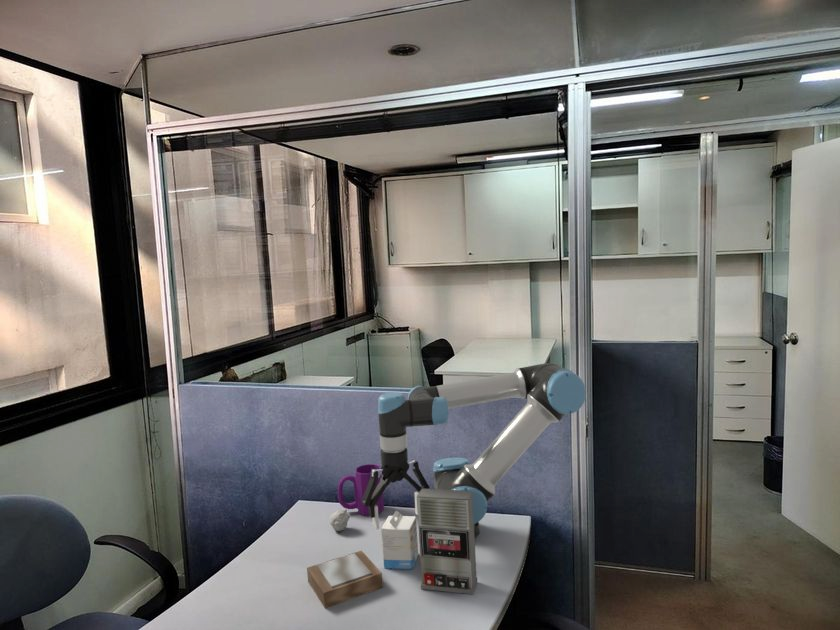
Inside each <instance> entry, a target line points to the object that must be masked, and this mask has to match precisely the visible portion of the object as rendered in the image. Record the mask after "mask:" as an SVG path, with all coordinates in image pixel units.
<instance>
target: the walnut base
mask: <svg viewBox="0 0 840 630" xmlns="http://www.w3.org/2000/svg"><path fill="white" fill-rule="evenodd" d="M306 571H307V572H306V573H307V583H308V584H309V586H310V587H311V589H312V590H313V592H314V594H315V595H316V596H317V598H318V600H319V601H320V603H321V605H322V606H323V608H324V609H326V608H329V607H332V606H335V605H338V604H341V603H343V602H346V601H349V600H351V599H352V600H353V599H354V598H357V597H360V596H363V595H366V594H368V593H371V592H374V591H376V590H380V589H382V588H383V587H384V584H383V573H382V572H381V570H380V569H379V568H378V567H377V566H376V565H375V564H374V563H373V561H372V560H371V559H370V558H369V557H368V556H367V555H366V554H365V552H364V551H363V550H359V551H355V552H352V553H350V554H349V553H348V554H347V555H342V556H340V557H336V558H333V559H330V560H326V561H324V562H321V563H318V564H314V565H311V566H308V567H306ZM383 589H384V588H383Z"/></svg>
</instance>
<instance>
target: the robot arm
mask: <svg viewBox="0 0 840 630" xmlns="http://www.w3.org/2000/svg"><path fill="white" fill-rule="evenodd" d="M407 395H408V396H407V399H406V398H405V394H403V393H402V392H386V393H383V394H381V395H380V396H379V397H378V400H377V401H378V403H377V404H378V407H377V414H378V426H379V427H378V429H379V445H380V446H379V447H380V449H381V450H380V463H381V466H380V467H381V469H378V470H375V469H372V470H371V477H370V480H369V483H368V485H367V488H366V491H365V493H364V496H363V499H362V503H363V504H364V505H365V506H369V515H370V516H369V517H370V518H371V519H372V520H371V521H372V527H373V529H375V530H380V522H379V521H380V520H379V513H378V506H377V505H376V503H377V501H378V500H379V498H380V497H381V495H382V493H383V494H384V492H385V490H386V488H387V487H389V485H390V484H391V483H392V484H393V483H396V482H401V481H403V479H404V480H406V482H407V483H408V484H410V485H411V487H413V489H415V490H416V491H415V492H414V510H415V511H414V512H415V515H417V516H418V510H417V495H418V494H419V492H420V491H421V489H422V488H423V489H431V487H430V486H429V483H428V482H427V480H426V479H425V476H424V474H423V473H422V471H421V470H420V467H419V462H418V461H417V460H415V459H413V458H412V459H410V461H409V462H408V459H409V456H408V455H409V454H408V449H407V447H408V439H407V438H408V437H407V428H411V427H424V426H439V425H444V424H446V423H448V421H449V410H450V409H456V408H461V407H466V406H474V405H478V404H483V403H484V404H485V403H489V402H495V401H496V402H497V401H500V400H507V399H513V398H517V397H518V398H520V399H521V400H525V399H527V402H526V404H525V405H524V406H523V407H522V408H521V409H520V410H519V412H518V413H517V414H515V416H514V417H513V418H512V419H511V421H509V423H508V424H507V425H506V426H505V427H504V428H503V429H502V430H501V432H500V433H499V434H498V435H497V436H496V438H494V440H493V441H491V443H490V444H489V445H488V446H487V447H486V449H484V451H483V452H482V454H480V455H479V457H477V459H476V460H475V461H474V462H473V463H472V464H471V461H470V460H469V459H468V458H465V457H446V458H440V459H439V460H436V461H435V462H434V464H433V469H432V470H433V471H432V473H433V485H434V489H442V490H460V491H472V499H473V518H474V537H475V538H477V536H479V535H480V530H481V529H480V521H482V519H483V518H484V517H485V515H486V513H487V511H488V502H489V501H490V500H491V499H492V498H493V496H495V494H496V485H497V484H498V482H500V480H501V479H502V478H503V477H504V476H505V475H506V473H508V471H509V470H510V469H511V468H512V467H513V466H514V464H515V463H517V461H518V460H519V459H520V458H521V456H523V455H524V453H525V452H526V451H527V450H528V449H529V448H530V446H531V445H533V443H534V442H535V441H536V440H537V439H538V438H539V437H540V435H542V433H543V432H544V431H545V429H547V427H548V426H549V425H550V424H552V423H553V424H555V423H556V424H557V423H559V422H560V421H561V420H562V419H563V418H564V417H565V416H566V415H571V414H573V413H577V411H579V410H581V408H582V407H583V405H584V404H585V401H586V397H587V388H586V386H585V383H584V381H583V379H582V378H581V377H580V376H579V375H577V374H576V373H574V372H573V371H572V370H570V369H566V368H564V367H562V366H561V365H559V364H555V363H550V362H548V363H539V364H538V363H537V364H534V365H529V366H524V367H518V368H516V369H515V370H514V371H513V372H508V373H503V374H497V375H491V376H486V377H485V376H484V377H480V378H474V379H469V380H463V381H458V382H451V383H445V384H440V385H435V386H428V387H425V386H423V385H416V386H414V387H412V388H411V389H410V390H409V392H408V394H407ZM409 469H411V470H412V472H413V473H414V475H415V477H416V478H417V480H418V482H419V484H420V485H419V484H418V483H417V482H416V481H415V480H414V479H413V478H412V477H411V476H410V475H409V474H408V471H409ZM380 474H382V478H381V479H380V483H379V484H378V486H377V487H376V484H377V481H378V478H379V477H380ZM375 487H376V489H375ZM374 490H375V491H374Z"/></svg>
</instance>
